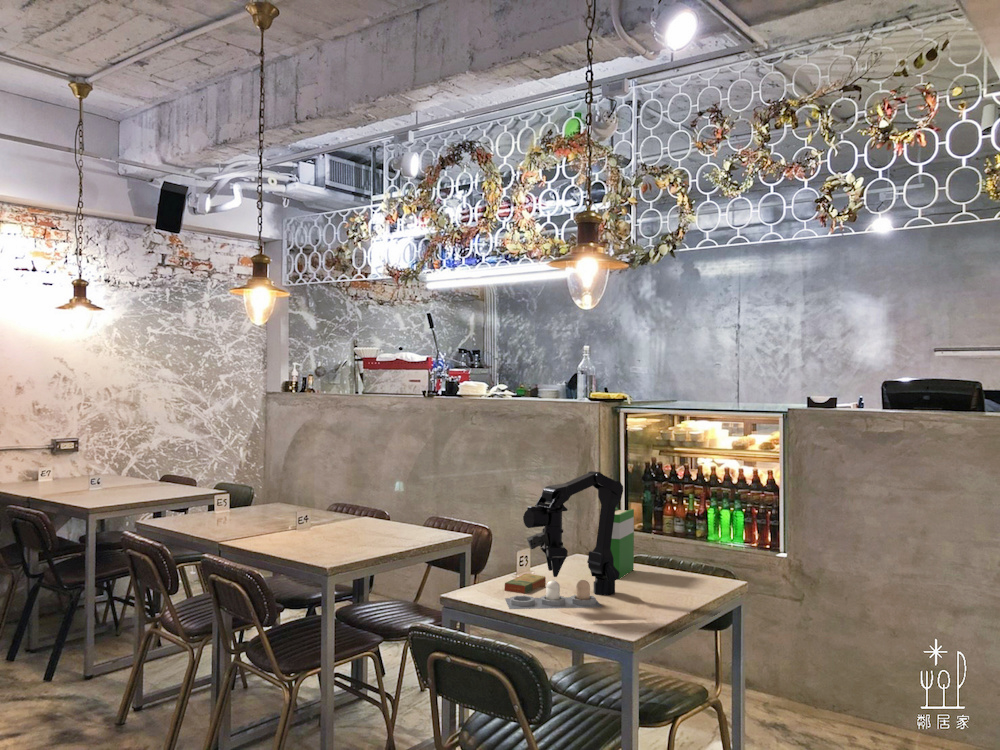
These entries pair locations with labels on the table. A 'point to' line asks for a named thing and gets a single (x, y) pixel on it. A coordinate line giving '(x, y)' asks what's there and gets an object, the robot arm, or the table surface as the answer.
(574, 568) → the table surface
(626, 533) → the hardback book
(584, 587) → the brown egg
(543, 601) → the egg stand
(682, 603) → the table surface
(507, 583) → the carton
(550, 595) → the cream egg
